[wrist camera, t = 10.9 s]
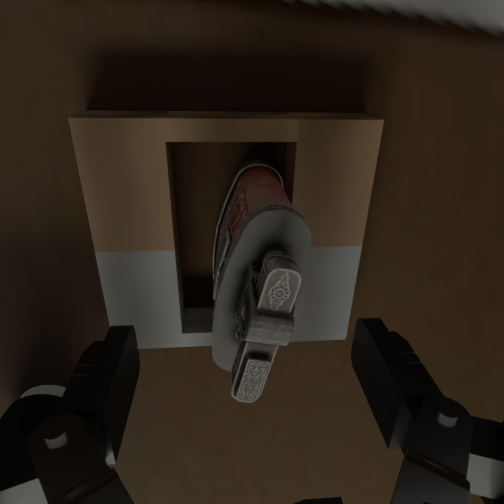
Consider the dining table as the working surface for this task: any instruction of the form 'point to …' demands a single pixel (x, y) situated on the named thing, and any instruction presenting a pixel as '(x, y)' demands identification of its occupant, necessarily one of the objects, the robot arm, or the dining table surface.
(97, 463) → the robot arm
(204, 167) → the dining table surface
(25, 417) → the dixie cup
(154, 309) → the tan flat square frame
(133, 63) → the dining table surface
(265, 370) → the lighter
